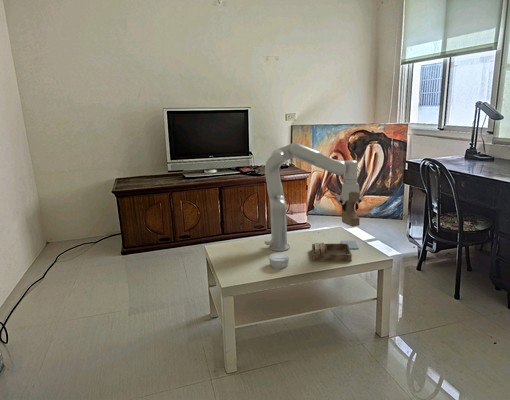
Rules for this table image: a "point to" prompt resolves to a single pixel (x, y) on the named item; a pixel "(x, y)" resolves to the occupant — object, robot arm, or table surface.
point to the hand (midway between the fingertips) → (350, 210)
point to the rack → (333, 256)
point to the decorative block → (351, 211)
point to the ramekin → (279, 260)
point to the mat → (350, 244)
